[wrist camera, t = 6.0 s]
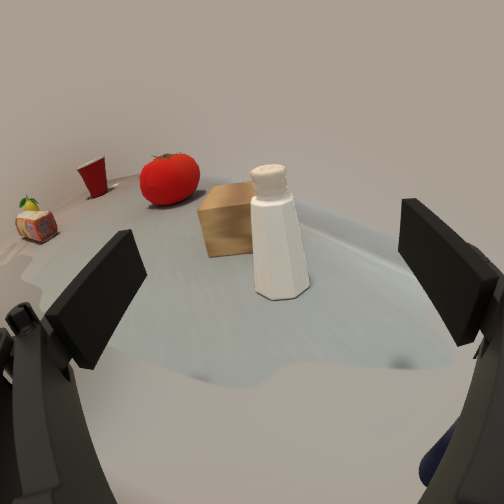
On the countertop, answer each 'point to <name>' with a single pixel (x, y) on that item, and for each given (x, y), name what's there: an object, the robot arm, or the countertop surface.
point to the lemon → (29, 205)
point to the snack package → (36, 225)
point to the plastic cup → (94, 176)
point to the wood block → (227, 219)
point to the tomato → (169, 179)
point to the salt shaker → (276, 236)
